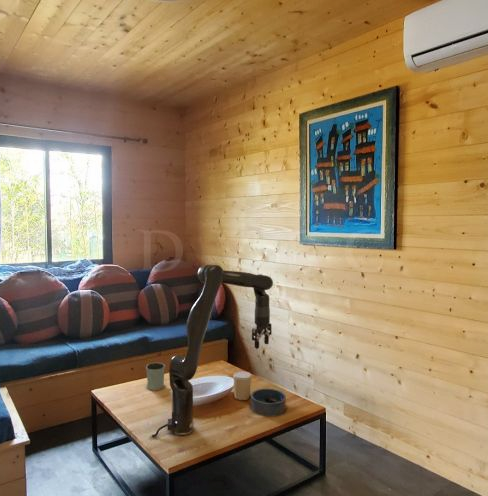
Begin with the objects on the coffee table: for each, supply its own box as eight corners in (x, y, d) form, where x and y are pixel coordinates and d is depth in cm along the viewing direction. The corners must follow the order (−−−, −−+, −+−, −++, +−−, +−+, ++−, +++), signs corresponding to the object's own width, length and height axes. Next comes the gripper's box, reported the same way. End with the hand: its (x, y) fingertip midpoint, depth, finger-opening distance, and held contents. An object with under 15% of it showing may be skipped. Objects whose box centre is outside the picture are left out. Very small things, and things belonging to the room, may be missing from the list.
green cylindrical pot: (159, 381, 238) (158, 361, 236) (168, 387, 230) (168, 366, 229) (142, 386, 231) (142, 365, 230) (152, 392, 223) (152, 370, 222)
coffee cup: (251, 393, 224) (251, 371, 223) (250, 401, 215) (251, 378, 213) (233, 392, 225) (234, 370, 224) (232, 400, 215) (232, 377, 214)
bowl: (254, 416, 199) (254, 404, 198) (248, 400, 215) (248, 389, 215) (289, 415, 201) (289, 402, 200) (280, 399, 217) (281, 388, 217)
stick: (267, 395, 215) (266, 400, 215) (264, 396, 213) (263, 401, 213) (282, 400, 209) (281, 405, 209) (279, 401, 207) (278, 406, 207)
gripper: (263, 310, 220) (263, 341, 222) (247, 316, 209) (247, 348, 211) (276, 313, 215) (275, 344, 217) (260, 318, 204) (259, 351, 206)
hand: (261, 346), depth 214 cm, fingers open, 8 cm apart
